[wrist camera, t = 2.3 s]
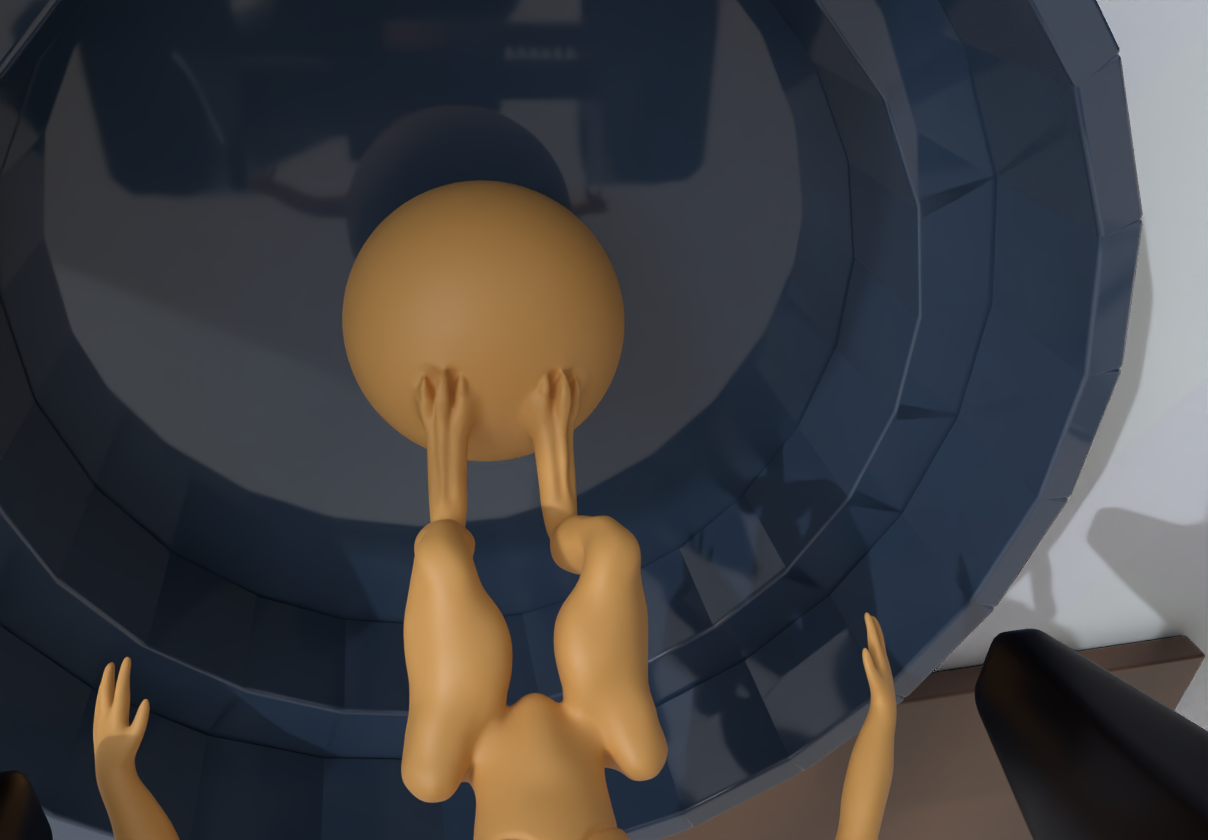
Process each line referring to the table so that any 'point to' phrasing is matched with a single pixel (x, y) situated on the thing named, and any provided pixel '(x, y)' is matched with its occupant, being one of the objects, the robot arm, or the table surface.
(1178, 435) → the table surface
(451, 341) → the figurine
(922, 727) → the walnut board
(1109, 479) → the table surface
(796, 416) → the basin
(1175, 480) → the table surface
